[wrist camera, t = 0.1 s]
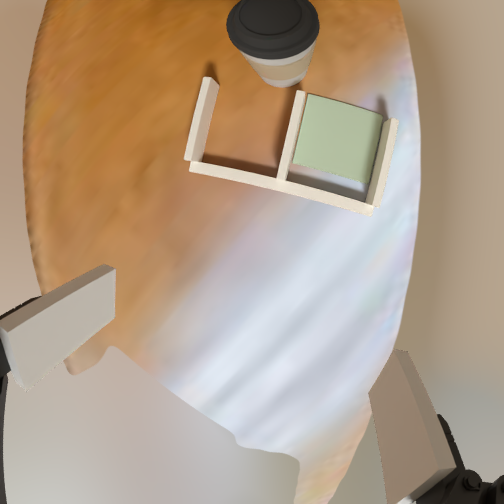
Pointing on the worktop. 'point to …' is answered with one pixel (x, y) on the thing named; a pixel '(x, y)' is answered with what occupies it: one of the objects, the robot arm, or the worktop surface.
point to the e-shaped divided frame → (286, 156)
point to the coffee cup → (275, 37)
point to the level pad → (338, 138)
